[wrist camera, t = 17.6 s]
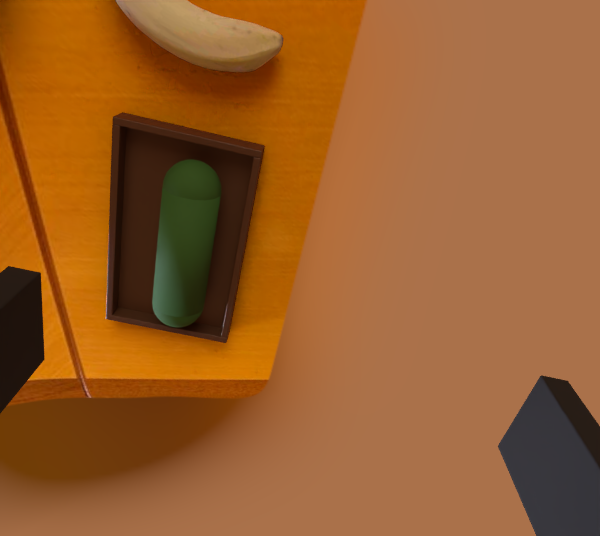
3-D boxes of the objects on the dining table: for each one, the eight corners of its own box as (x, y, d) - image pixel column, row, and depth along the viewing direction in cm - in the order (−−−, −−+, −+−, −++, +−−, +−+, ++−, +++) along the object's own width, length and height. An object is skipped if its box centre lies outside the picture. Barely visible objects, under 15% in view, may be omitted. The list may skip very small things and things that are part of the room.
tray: (122, 112, 37) (112, 116, 35) (264, 145, 38) (262, 151, 36) (113, 307, 46) (105, 319, 44) (229, 331, 47) (226, 343, 45)
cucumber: (159, 149, 37) (171, 169, 33) (216, 154, 39) (232, 173, 35) (146, 309, 44) (155, 340, 40) (194, 306, 46) (206, 335, 43)
